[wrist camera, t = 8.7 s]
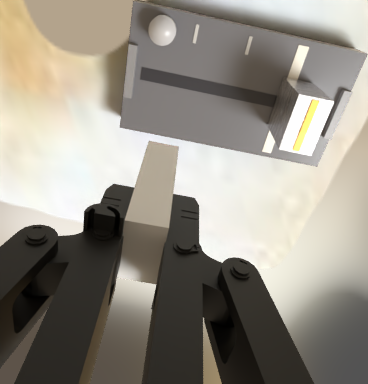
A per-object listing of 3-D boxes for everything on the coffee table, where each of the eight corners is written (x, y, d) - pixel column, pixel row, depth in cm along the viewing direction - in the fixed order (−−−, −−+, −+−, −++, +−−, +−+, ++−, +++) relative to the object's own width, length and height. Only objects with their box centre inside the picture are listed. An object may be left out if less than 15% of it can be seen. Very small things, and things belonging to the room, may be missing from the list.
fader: (283, 76, 33) (299, 94, 28) (313, 83, 34) (334, 102, 28) (267, 125, 36) (278, 149, 31) (294, 131, 36) (311, 156, 31)
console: (137, -1, 33) (130, 1, 29) (357, 49, 34) (374, 57, 31) (124, 119, 39) (116, 132, 36) (310, 156, 41) (321, 173, 37)
